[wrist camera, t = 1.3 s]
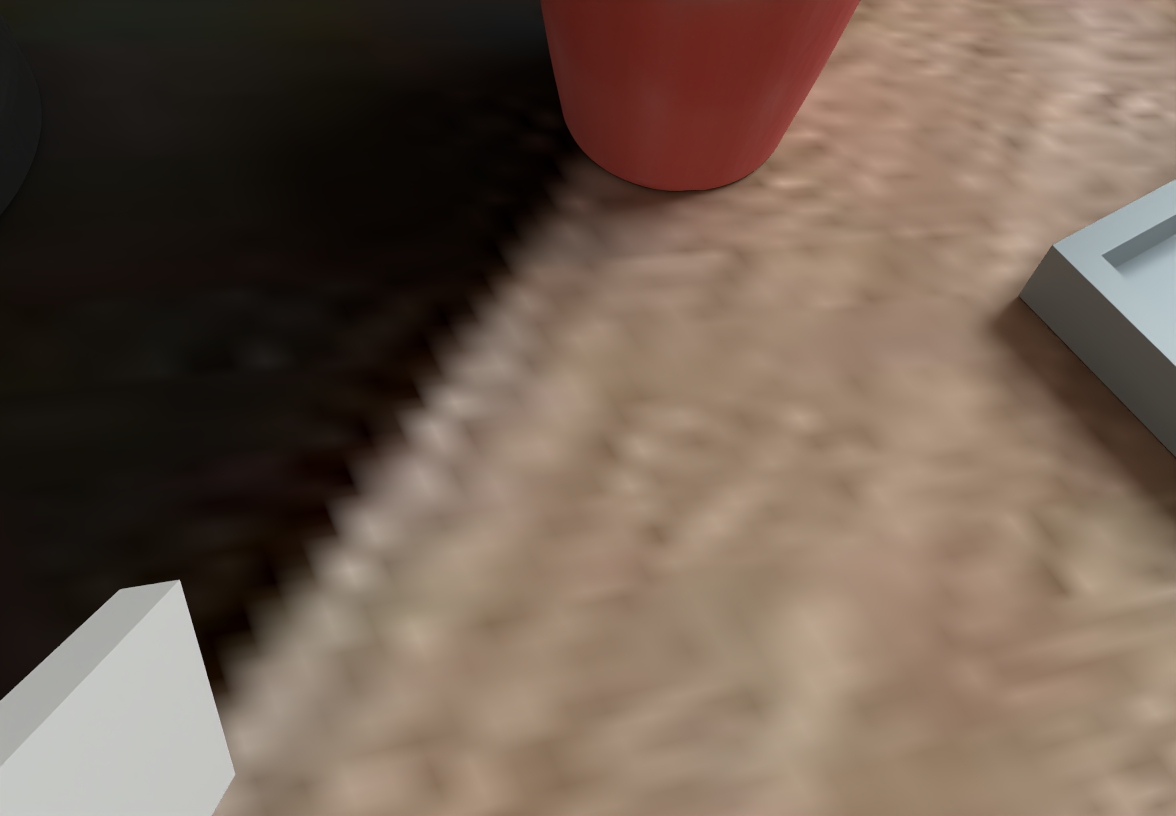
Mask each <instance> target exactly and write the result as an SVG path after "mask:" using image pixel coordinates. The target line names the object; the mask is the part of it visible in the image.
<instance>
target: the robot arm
mask: <svg viewBox="0 0 1176 816" xmlns="http://www.w3.org/2000/svg"><path fill="white" fill-rule="evenodd" d="M41 124H42V106H41V98H40V92H39V89H38V85H37V82H36V79H35V77H34V74H33V72H32V70H31V68H30V66H29V64H28V62H27V61H26V59H25V57H24V55H23V53H22V51H21V49H20V48H19V46H18V44H17V42H16V40H15V38H14V36H13V35H12V33H11V31H10V29H9V27H8V25H7V24H6V22H5V20H4V18H3V17H2V15H1V14H0V215H1V214H2V213H3V211H4V210H5V209H6V208H7V206H8V205H9V204H10V202H11V201H12V199H13V198H14V196H15V195H16V193H17V192H18V190H19V188H20V187H21V185H22V183H23V181H24V180H25V178H26V176H27V173H28V171H29V169H30V167H31V165H32V162H33V159H34V157H35V154H36V150H37V147H38V143H39V139H40V133H41ZM234 776H235V772H234V768H233V765H232V761H231V758H230V754H229V751H228V747H227V744H226V740H225V737H224V733H223V730H222V726H221V723H220V719H219V716H218V712H217V709H216V705H215V702H214V698H213V695H212V691H211V688H210V684H209V681H208V677H207V674H206V670H205V667H204V663H203V660H202V656H201V653H200V649H199V646H198V642H197V639H196V635H195V632H194V628H193V624H192V621H191V617H190V614H189V610H188V607H187V603H186V600H185V596H184V593H183V589H182V586H181V582H180V580H175V581H169V582H163V583H157V584H150V585H144V586H138V587H132V588H126V589H120V590H119V591H118V592H117V593H116V594H115V595H114V596H112V597H111V598H110V599H109V600H108V601H107V602H106V603H105V604H104V605H103V606H102V607H101V608H100V609H98V610H97V611H96V612H95V613H94V614H93V615H92V616H91V617H90V618H89V619H88V620H87V621H86V622H85V623H83V624H82V625H81V626H80V627H79V628H78V629H77V630H76V631H75V632H74V633H73V634H72V635H71V636H70V637H68V638H67V639H66V640H65V641H64V642H63V643H62V644H61V645H60V646H59V647H58V648H57V649H56V650H54V651H53V652H52V653H51V654H50V655H49V656H48V657H47V658H46V659H45V660H44V661H43V662H42V663H41V664H39V665H38V666H37V667H36V668H35V669H34V670H33V671H32V672H31V673H30V674H29V675H28V676H27V677H25V678H24V679H23V680H22V681H21V682H20V683H19V684H18V685H17V686H16V687H15V688H14V689H13V690H12V691H10V692H9V693H8V694H7V695H6V696H5V697H4V698H3V699H2V700H1V701H0V816H212V814H213V812H214V811H215V809H216V807H217V805H218V804H219V802H220V800H221V798H222V797H223V795H224V793H225V791H226V790H227V788H228V786H229V784H230V783H231V781H232V779H233V777H234Z"/></svg>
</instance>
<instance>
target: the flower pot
mask: <svg viewBox="0 0 1176 816" xmlns="http://www.w3.org/2000/svg"><path fill="white" fill-rule="evenodd" d="M859 2H860V0H541V7H542V13H543V18H544V24H545V30H546V35H547V41H548V47H549V52H550V57H551V62H552V67H553V72H554V76H555V80H556V85H557V89H558V94H559V98H560V103H561V107H562V112H563V116H564V120H565V122H566V125H567V127H568V129H569V131H570V133H571V135H572V136H573V138H574V140H575V141H576V143H577V144H578V145H579V147H580V148H581V149H582V150H583V152H584V153H585V154H586V155H588V156H589V157H590V158H591V159H592V160H593V161H594V162H596V163H597V164H598V165H599V166H601V167H602V168H604V169H605V170H607V171H608V172H610V173H612V174H614V175H616V176H618V177H620V178H622V179H624V180H627V181H629V182H632V183H635V184H638V185H641V186H645V187H649V188H654V189H660V190H669V191H683V190H706V189H711V188H716V187H720V186H723V185H726V184H730V183H732V182H735V181H737V180H739V179H741V178H743V177H745V176H747V175H748V174H750V173H751V172H753V171H754V170H756V169H757V168H758V167H759V166H760V165H762V164H763V163H764V162H765V161H766V160H767V159H768V158H769V157H770V156H771V154H772V153H773V152H774V150H775V149H776V147H777V146H778V144H779V142H780V141H781V139H782V137H783V135H784V133H785V132H786V130H787V128H788V127H789V125H790V123H791V122H792V120H793V118H794V117H795V115H796V113H797V112H798V110H799V108H800V107H801V105H802V103H803V102H804V100H805V98H806V97H807V95H808V93H809V91H810V90H811V88H812V86H813V85H814V83H815V81H816V80H817V78H818V76H819V74H820V73H821V71H822V69H823V68H824V66H825V64H826V62H827V60H828V59H829V57H830V55H831V53H832V51H833V49H834V48H835V46H836V44H837V42H838V40H839V38H840V37H841V35H842V33H843V31H844V29H845V27H846V26H847V24H848V22H849V20H850V18H851V16H852V15H853V13H854V11H855V9H856V7H857V6H858V4H859Z"/></svg>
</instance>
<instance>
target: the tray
mask: <svg viewBox="0 0 1176 816" xmlns="http://www.w3.org/2000/svg"><path fill="white" fill-rule="evenodd" d="M1019 297H1020V298H1021V299H1022V300H1023V301H1024V302H1025V303H1026V304H1027V305H1028V306H1029V307H1030V308H1031V309H1032V310H1033V311H1034V312H1035V313H1036V314H1037V315H1038V316H1039V317H1040V318H1041V319H1042V320H1043V321H1044V322H1045V323H1046V324H1047V325H1048V326H1049V327H1050V328H1051V329H1052V331H1053V332H1054V333H1055V334H1056V335H1057V336H1058V337H1059V338H1060V339H1061V340H1062V341H1063V342H1064V343H1065V344H1066V345H1067V346H1068V347H1069V348H1070V349H1071V350H1072V351H1073V352H1074V353H1075V354H1076V355H1077V356H1078V357H1079V358H1080V359H1081V360H1082V361H1083V362H1084V363H1085V364H1086V365H1087V367H1088V368H1089V369H1090V370H1091V371H1092V372H1093V373H1094V374H1095V375H1096V376H1097V377H1098V378H1099V379H1100V380H1101V381H1102V382H1103V383H1104V384H1105V385H1106V386H1107V387H1108V388H1109V389H1110V390H1111V391H1112V392H1113V393H1114V394H1115V395H1116V396H1117V397H1118V398H1119V399H1120V400H1121V401H1122V402H1123V404H1124V405H1125V406H1126V407H1127V408H1128V409H1129V410H1130V411H1131V412H1132V413H1133V414H1134V415H1135V416H1136V417H1137V418H1138V419H1139V420H1140V421H1141V422H1142V423H1143V424H1144V425H1145V426H1146V427H1147V428H1148V429H1149V430H1150V431H1151V432H1152V433H1153V434H1154V435H1155V436H1156V437H1157V438H1158V439H1159V441H1160V442H1161V443H1162V444H1163V445H1164V446H1165V447H1166V448H1167V449H1168V450H1169V451H1170V452H1171V453H1172V454H1173V455H1174V456H1175V457H1176V179H1175V180H1173V181H1171V182H1169V183H1168V184H1166V185H1164V186H1162V187H1160V188H1158V189H1156V190H1155V191H1153V192H1151V193H1149V194H1147V195H1145V196H1143V197H1141V198H1140V199H1138V200H1136V201H1134V202H1132V203H1130V204H1128V205H1126V206H1125V207H1123V208H1121V209H1119V210H1117V211H1115V212H1113V213H1111V214H1110V215H1108V216H1106V217H1104V218H1102V219H1100V220H1098V221H1097V222H1095V223H1093V224H1091V225H1089V226H1087V227H1085V228H1083V229H1082V230H1080V231H1078V232H1076V233H1074V234H1072V235H1070V236H1068V237H1067V238H1065V239H1063V240H1061V241H1059V242H1057V243H1055V244H1054V245H1052V246H1051V248H1050V249H1049V251H1048V252H1047V254H1046V255H1045V257H1044V258H1043V260H1042V261H1041V263H1040V264H1039V266H1038V267H1037V269H1036V270H1035V272H1034V273H1033V275H1032V276H1031V278H1030V279H1029V281H1028V282H1027V284H1026V285H1025V287H1024V288H1023V290H1022V291H1021V293H1020V294H1019Z"/></svg>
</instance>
